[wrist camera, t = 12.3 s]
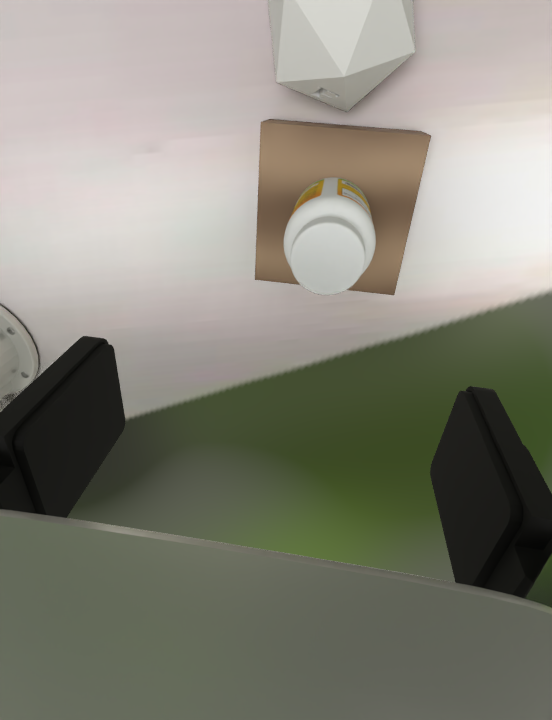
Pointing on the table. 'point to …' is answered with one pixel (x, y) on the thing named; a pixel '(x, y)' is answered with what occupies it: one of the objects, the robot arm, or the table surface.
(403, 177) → the base block
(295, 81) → the die
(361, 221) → the supplement bottle
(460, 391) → the robot arm
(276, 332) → the table surface
